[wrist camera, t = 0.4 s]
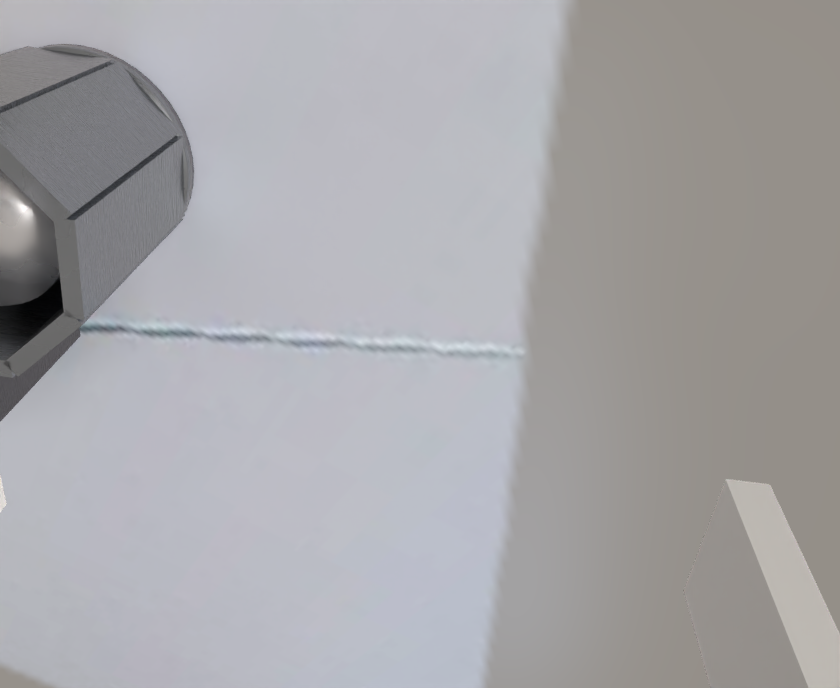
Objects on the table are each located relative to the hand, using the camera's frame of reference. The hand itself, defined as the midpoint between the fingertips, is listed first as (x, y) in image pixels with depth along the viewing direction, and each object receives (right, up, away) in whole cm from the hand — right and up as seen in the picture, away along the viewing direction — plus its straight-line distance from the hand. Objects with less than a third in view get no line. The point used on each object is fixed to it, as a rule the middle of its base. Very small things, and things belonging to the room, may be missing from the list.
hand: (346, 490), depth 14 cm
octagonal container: (-16, +11, +28) cm, 34 cm away
